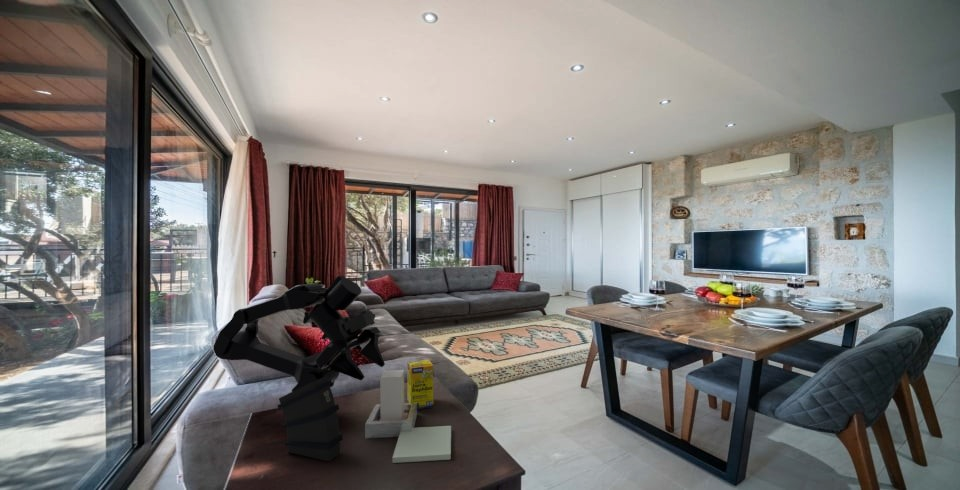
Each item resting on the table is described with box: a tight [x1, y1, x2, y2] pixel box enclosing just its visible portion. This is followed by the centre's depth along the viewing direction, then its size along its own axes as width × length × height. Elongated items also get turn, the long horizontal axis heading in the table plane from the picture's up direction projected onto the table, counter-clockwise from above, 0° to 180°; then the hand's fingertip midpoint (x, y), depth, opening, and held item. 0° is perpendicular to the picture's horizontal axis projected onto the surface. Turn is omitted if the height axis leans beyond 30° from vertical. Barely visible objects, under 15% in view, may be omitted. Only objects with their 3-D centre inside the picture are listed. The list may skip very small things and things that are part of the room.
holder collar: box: [364, 402, 418, 439], centre depth 79 cm, size 10×10×3 cm
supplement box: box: [406, 359, 434, 411], centre depth 90 cm, size 6×6×11 cm
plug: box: [379, 369, 408, 421], centre depth 79 cm, size 6×6×12 cm
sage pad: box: [392, 425, 452, 464], centre depth 70 cm, size 11×11×1 cm
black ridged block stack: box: [277, 376, 344, 462], centre depth 68 cm, size 4×13×15 cm, turn 71°
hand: (373, 371), depth 80 cm, fingers open, 9 cm apart
